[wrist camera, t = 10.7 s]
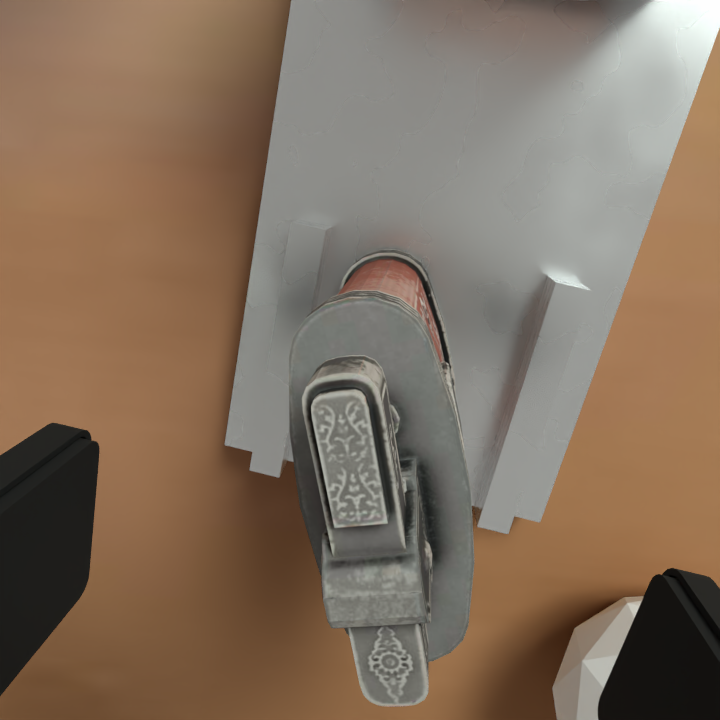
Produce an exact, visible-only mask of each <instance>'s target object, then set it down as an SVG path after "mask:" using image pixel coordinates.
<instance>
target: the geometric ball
mask: <svg viewBox="0 0 720 720" xmlns="http://www.w3.org/2000/svg"><path fill="white" fill-rule="evenodd" d="M643 597H644V596H637V597H623V598H622V599H620V600H619V601H617V602H615V603H614V604H612V605H611V606H609V607H607V608H606V609H604V610H603V611H601V612H599V613H598V614H596V615H595V616H593V617H591V618H590V619H588V620H587V621H585V622H583V623H582V624H580V625H579V626H577V627H575V628H574V631H573V634H572V636H571V639H570V642H569V644H568V647H567V650H566V652H565V655H564V658H563V661H562V663H561V666H560V669H559V671H558V674H557V677H556V679H555V682H554V685H553V688H552V690H553V697H554V704H555V711H556V718H557V720H598V702H599V699H600V696H601V693H602V691H603V689H604V687H605V684H606V682H607V680H608V677H609V675H610V673H611V671H612V668H613V666H614V664H615V661H616V659H617V657H618V655H619V652H620V650H621V648H622V645H623V643H624V641H625V638H626V636H627V634H628V632H629V629H630V627H631V625H632V622H633V620H634V618H635V616H636V613H637V611H638V609H639V606H640V604H641V602H642V600H643Z"/></svg>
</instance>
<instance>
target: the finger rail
mask: <svg viewBox="0 0 720 720" xmlns="http://www.w3.org/2000/svg"><path fill="white" fill-rule="evenodd" d="M719 27H720V0H291V6H290V12H289V19H288V26H287V32H286V39H285V46H284V52H283V59H282V66H281V72H280V79H279V86H278V92H277V99H276V106H275V112H274V119H273V125H272V132H271V139H270V145H269V152H268V159H267V165H266V172H265V179H264V185H263V192H262V199H261V205H260V212H259V219H258V225H257V232H256V239H255V245H254V252H253V259H252V265H251V272H250V279H249V285H248V292H247V299H246V305H245V312H244V319H243V325H242V332H241V338H240V345H239V352H238V358H237V365H236V372H235V378H234V385H233V392H232V398H231V405H230V412H229V418H228V425H227V432H226V438H225V445H226V446H230V447H234V448H239V449H243V450H247V451H251V452H252V458H251V464H250V471H254V472H258V473H262V474H266V475H270V476H274V477H278V478H279V477H280V475H281V473H282V471H283V469H284V467H285V465H286V463H287V461H292V462H294V461H293V454H292V447H291V440H290V431H289V363H288V356H289V352H290V347H291V342H292V337H293V336H294V334H295V333H296V331H297V330H298V328H299V327H300V325H301V324H302V323H303V321H304V320H305V318H306V317H307V316H308V315H309V314H310V313H311V312H312V310H314V309H315V308H316V307H318V306H319V305H321V304H322V303H323V302H325V301H326V300H328V299H329V298H331V297H333V296H337V294H338V293H339V292H340V289H341V284H342V280H343V278H344V276H345V275H346V273H347V272H348V270H349V269H350V267H351V266H352V265H353V264H354V263H355V262H356V261H358V260H359V259H360V258H362V257H363V256H365V255H366V254H369V253H372V252H375V251H378V250H399V251H402V252H405V253H408V254H411V255H412V256H413V257H414V258H416V259H417V260H418V261H420V262H421V263H422V265H423V267H424V268H425V270H426V272H427V273H428V276H429V279H430V282H431V285H432V288H433V291H434V294H435V296H436V299H437V302H438V305H439V308H440V311H441V314H442V317H443V320H444V325H445V329H446V334H447V339H448V344H449V349H450V354H451V359H452V364H453V369H454V375H455V389H456V401H457V406H458V411H459V415H460V420H461V426H462V433H463V441H464V450H465V459H466V463H467V468H468V473H469V480H470V487H471V500H472V506H474V508H475V515H476V522H477V527H481V528H485V529H489V530H493V531H497V532H501V533H505V534H508V533H509V530H510V527H511V525H512V522H513V519H514V516H516V517H520V518H524V519H528V520H532V521H536V522H540V521H541V518H542V515H543V513H544V510H545V507H546V504H547V502H548V499H549V496H550V493H551V491H552V488H553V485H554V482H555V480H556V477H557V474H558V471H559V468H560V466H561V463H562V460H563V457H564V455H565V452H566V449H567V446H568V444H569V441H570V438H571V435H572V433H573V430H574V427H575V424H576V422H577V419H578V416H579V413H580V411H581V408H582V405H583V402H584V400H585V397H586V394H587V391H588V389H589V386H590V383H591V380H592V377H593V375H594V372H595V369H596V366H597V364H598V361H599V358H600V355H601V353H602V350H603V347H604V344H605V342H606V339H607V336H608V333H609V331H610V328H611V325H612V322H613V320H614V317H615V314H616V311H617V309H618V306H619V303H620V300H621V298H622V295H623V292H624V289H625V286H626V284H627V281H628V278H629V275H630V273H631V270H632V267H633V264H634V262H635V259H636V256H637V253H638V251H639V248H640V245H641V242H642V240H643V237H644V234H645V231H646V229H647V226H648V223H649V220H650V218H651V215H652V212H653V209H654V207H655V204H656V201H657V198H658V195H659V193H660V190H661V187H662V184H663V182H664V179H665V176H666V173H667V171H668V168H669V165H670V162H671V160H672V157H673V154H674V151H675V149H676V146H677V143H678V140H679V138H680V135H681V132H682V129H683V127H684V124H685V121H686V118H687V116H688V113H689V110H690V107H691V104H692V102H693V99H694V96H695V93H696V91H697V88H698V85H699V82H700V80H701V77H702V74H703V71H704V69H705V66H706V63H707V60H708V58H709V55H710V52H711V49H712V47H713V44H714V41H715V38H716V36H717V33H718V30H719Z"/></svg>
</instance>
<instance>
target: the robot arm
mask: <svg viewBox="0 0 720 720" xmlns="http://www.w3.org/2000/svg"><path fill="white" fill-rule="evenodd" d="M98 462H99V445H98V443H97V442H95V441H91V435H90V433H89V432H88V431H87V430H83V429H78V428H74V427H70V426H66V425H61V424H57V423H51V424H49V425H47V426H45V427H44V428H42V429H41V430H39V431H37V432H36V433H34V434H33V435H31V436H30V437H28V438H27V439H25V440H24V441H22V442H20V443H19V444H17V445H16V446H14V447H13V448H11V449H10V450H8V451H7V452H5V453H4V454H2V455H0V696H1V694H2V693H3V692H4V691H5V689H6V688H7V687H8V686H9V685H10V683H11V682H12V681H13V680H14V678H15V677H16V676H17V675H18V673H19V672H20V671H21V670H22V669H23V667H24V666H25V665H26V664H27V662H28V661H29V660H30V659H31V657H32V656H33V655H34V654H35V653H36V651H37V650H38V649H39V648H40V646H41V645H42V644H43V643H44V641H45V640H46V639H47V638H48V637H49V635H50V634H51V633H52V632H53V630H54V629H55V628H56V627H57V625H58V624H59V623H60V622H61V621H62V619H63V618H64V617H65V616H66V614H67V613H68V612H69V611H70V609H71V608H72V607H73V606H74V605H75V603H76V602H77V601H78V600H79V598H80V597H81V595H82V593H83V591H84V590H85V587H86V585H87V581H88V578H89V570H90V558H91V546H92V534H93V522H94V510H95V498H96V486H97V474H98ZM598 720H720V589H719V587H718V586H717V585H716V583H715V582H714V581H713V580H712V579H711V578H710V577H707V576H704V575H700V574H695V573H691V572H687V571H683V570H678V569H674V568H670V569H667V570H666V571H665V572H664V573H663V574H662V575H660V574H658V575H655V576H654V577H653V578H652V580H651V581H650V584H649V586H648V588H647V590H646V593H645V595H644V597H643V600H642V602H641V604H640V606H639V609H638V611H637V613H636V616H635V618H634V620H633V622H632V625H631V627H630V629H629V632H628V634H627V636H626V638H625V641H624V643H623V645H622V648H621V650H620V652H619V655H618V657H617V659H616V661H615V664H614V666H613V668H612V671H611V673H610V675H609V677H608V680H607V682H606V684H605V687H604V689H603V691H602V693H601V696H600V699H599V702H598Z"/></svg>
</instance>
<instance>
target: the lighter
mask: <svg viewBox="0 0 720 720" xmlns="http://www.w3.org/2000/svg"><path fill="white" fill-rule="evenodd" d="M288 363H289V431H290V440H291V447H292V454H293V461H294V468H295V475H296V482H297V489H298V496H299V503H300V508H301V512H302V515H303V518H304V522H305V525H306V528H307V532H308V535H309V538H310V542H311V545H312V548H313V552H314V555H315V558H316V562H317V565H318V568H319V572H320V575H321V583H322V594H323V601H324V606H325V610H326V615H327V620H328V623H329V624H330V626H331V628H345V631H346V633H347V634H348V635H349V637H350V641H351V645H352V650H353V655H354V660H355V665H356V669H357V674H358V679H359V684H360V687H361V690H362V692H363V695H364V696H365V697H366V698H367V699H368V700H369V701H370V702H372V703H374V704H377V705H379V706H389V707H400V706H410V705H416V704H418V703H420V702H421V701H423V700H424V699H425V698H426V696H427V694H428V662H429V661H434V660H436V659H438V658H440V657H442V656H444V655H446V654H449V653H451V652H452V651H453V650H454V649H455V648H456V647H457V646H458V645H459V644H460V643H461V642H462V641H463V638H464V636H465V633H466V630H467V628H468V623H469V612H470V602H471V592H472V582H473V571H474V545H473V523H472V500H471V487H470V480H469V473H468V468H467V463H466V459H465V450H464V441H463V433H462V426H461V420H460V415H459V411H458V406H457V401H456V389H455V375H454V369H453V364H452V359H451V354H450V349H449V344H448V339H447V334H446V329H445V325H444V320H443V317H442V314H441V311H440V308H439V305H438V302H437V299H436V296H435V294H434V291H433V288H432V285H431V282H430V279H429V276H428V273H427V272H426V270H425V268H424V267H423V265H422V263H421V262H420V261H418V260H417V259H416V258H414V257H413V256H412V255H411V254H408V253H405V252H402V251H399V250H378V251H375V252H372V253H369V254H366V255H365V256H363V257H362V258H360V259H359V260H358V261H356V262H355V263H354V264H353V265H352V266H351V267H350V269H349V270H348V272H347V273H346V275H345V276H344V278H343V280H342V284H341V289H340V292H339V293H338V294H337V296H333V297H331V298H329V299H328V300H326V301H325V302H323V303H322V304H321V305H319V306H318V307H316V308H315V309H314V310H312V312H311V313H310V314H309V315H308V316H307V317H306V318H305V320H304V321H303V323H302V324H301V325H300V327H299V328H298V330H297V331H296V333H295V334H294V336H293V337H292V342H291V347H290V352H289V356H288Z"/></svg>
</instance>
